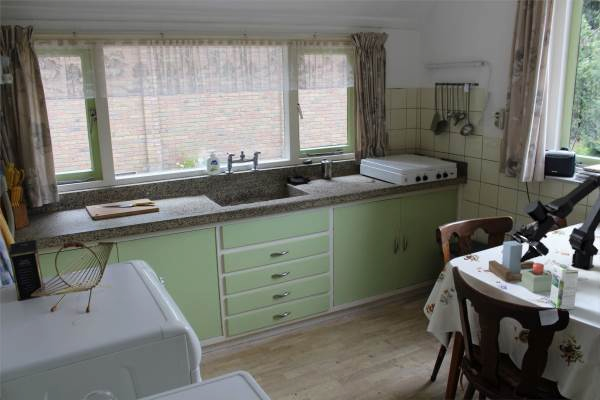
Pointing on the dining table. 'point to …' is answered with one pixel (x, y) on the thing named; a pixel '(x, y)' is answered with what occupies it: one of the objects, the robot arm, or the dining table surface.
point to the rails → (519, 276)
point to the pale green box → (536, 281)
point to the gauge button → (538, 268)
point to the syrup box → (563, 286)
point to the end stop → (500, 271)
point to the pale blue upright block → (512, 256)
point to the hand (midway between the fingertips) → (513, 257)
